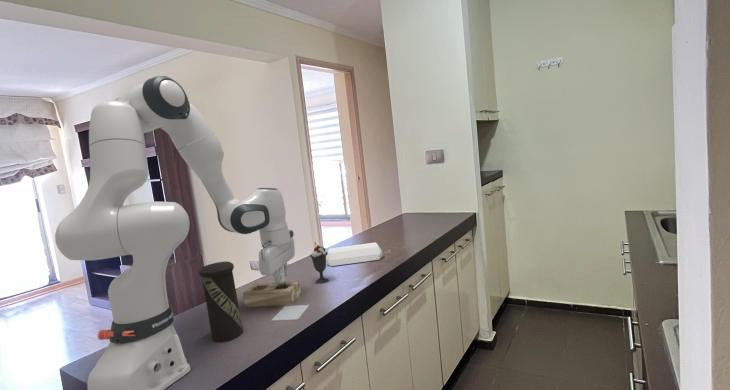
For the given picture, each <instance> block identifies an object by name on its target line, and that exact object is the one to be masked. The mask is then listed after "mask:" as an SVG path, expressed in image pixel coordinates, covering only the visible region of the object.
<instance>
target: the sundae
mask: <svg viewBox="0 0 730 390" xmlns="http://www.w3.org/2000/svg"><path fill="white" fill-rule="evenodd" d="M314 244H315V247H314V249H313V251H312V253H311V254H310V255H309V257H310V258H311V260H312V263H313V264H312V265H313V267H314V269H315V271H317V272H318V273H319V279H317V280H315V284H325V283H327V282H329V281H330V279H329V278H325V277H324V274H323V273H324V271H325V270H326V268H327V262H326V256H327V254H328V251H326V248H325V247H323V246H320V245H318V244H317V242H314Z"/></svg>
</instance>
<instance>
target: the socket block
mask: <svg viewBox="0 0 730 390" xmlns="http://www.w3.org/2000/svg"><path fill="white" fill-rule="evenodd" d="M286 286H287V289H277V283H276V282H272V283H271V282H269V283H268V282H267V283H254V284H253V285H251V286H250V287H248V288H247V289H246V290H245V291H243V292H242V296H243V303H244V307H245V308H252V307H268V306H269V307H272V306H273V307H274V306H293V305H294V303H295V302H296V301H297V300H298V299H299V298H300V297H301V296H302V291H301V285H300V281H298V280H297V281H286Z"/></svg>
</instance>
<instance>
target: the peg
mask: <svg viewBox="0 0 730 390" xmlns="http://www.w3.org/2000/svg"><path fill="white" fill-rule="evenodd" d="M279 274H280V276H281V279H282V281H281V282H279V283H277V289H287V286H286V282H287V279H286V277H285V271H284V265H283V266H282V267H281V268H279Z"/></svg>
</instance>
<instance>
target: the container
mask: <svg viewBox="0 0 730 390" xmlns="http://www.w3.org/2000/svg"><path fill="white" fill-rule="evenodd" d="M234 268H235V265H234V262H233V263H232V261H219V262H213V263H210V264H206V265H204V266H202V267H201V268H200V269H199V271H198V274H199V276H200V277H201V281H202V282H201V283H202V286H203V287H202V288H203V292H204V298H205V303H206V304H205V305H206V310H207V316H208V322H209V329H210V335H211V340H212V342H213V343H227V342H231V341H233V340H236V339H237V338H239V337H240V336H242V334H243V333H244V328H243V321H242V315H241V312H240V311H241V310H240V306H239V300H238V294H237V290H236V288H237V287H236V284H235V278H234V273H233V271H234Z"/></svg>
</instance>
